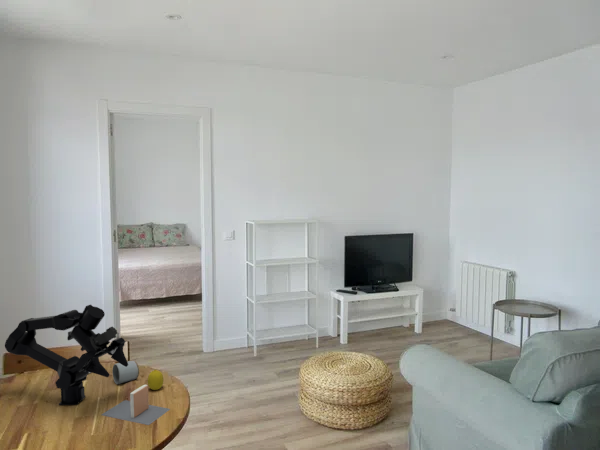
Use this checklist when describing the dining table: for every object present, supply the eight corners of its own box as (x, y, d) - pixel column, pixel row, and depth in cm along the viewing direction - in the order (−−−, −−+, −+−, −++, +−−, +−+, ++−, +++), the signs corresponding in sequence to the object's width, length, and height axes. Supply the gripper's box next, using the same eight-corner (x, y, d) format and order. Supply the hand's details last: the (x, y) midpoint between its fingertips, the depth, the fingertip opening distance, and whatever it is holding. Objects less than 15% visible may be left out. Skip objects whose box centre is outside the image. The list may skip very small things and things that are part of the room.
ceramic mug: (140, 380, 173) (140, 361, 173) (119, 387, 168) (118, 367, 167) (129, 373, 181) (128, 354, 181) (109, 379, 175) (108, 360, 175)
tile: (130, 417, 143) (130, 393, 143) (145, 407, 150) (144, 384, 149) (134, 418, 143) (133, 394, 142) (149, 408, 149) (148, 385, 149)
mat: (100, 417, 145) (100, 414, 145) (124, 402, 155) (124, 400, 155) (148, 427, 139) (148, 425, 139) (170, 411, 149) (170, 408, 149)
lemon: (158, 394, 161) (158, 373, 160) (145, 393, 162) (144, 372, 162) (166, 388, 166) (165, 367, 166) (152, 387, 168) (152, 366, 167)
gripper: (78, 330, 142) (111, 364, 139) (117, 314, 160) (147, 344, 157) (61, 354, 144) (93, 388, 142) (102, 336, 162) (131, 366, 159)
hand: (118, 370), depth 150 cm, fingers open, 9 cm apart
